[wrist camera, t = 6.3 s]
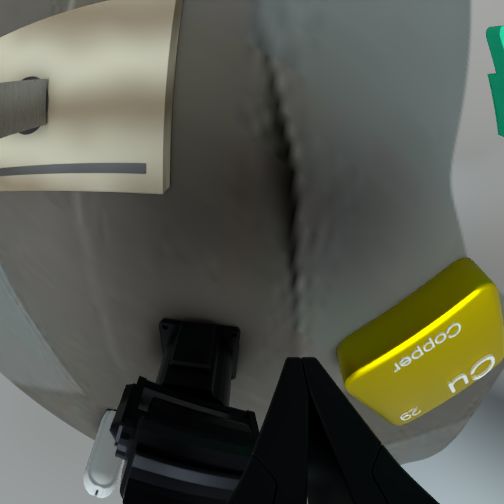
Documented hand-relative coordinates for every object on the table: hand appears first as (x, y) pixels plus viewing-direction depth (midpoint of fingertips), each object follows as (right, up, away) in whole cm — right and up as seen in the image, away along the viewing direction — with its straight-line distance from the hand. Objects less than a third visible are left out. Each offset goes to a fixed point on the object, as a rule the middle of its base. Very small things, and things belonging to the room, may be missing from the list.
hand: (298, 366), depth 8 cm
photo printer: (-21, -21, +26) cm, 39 cm away
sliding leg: (-15, +12, +5) cm, 20 cm away
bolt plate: (-19, +14, +6) cm, 24 cm away
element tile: (+16, -5, +17) cm, 24 cm away
